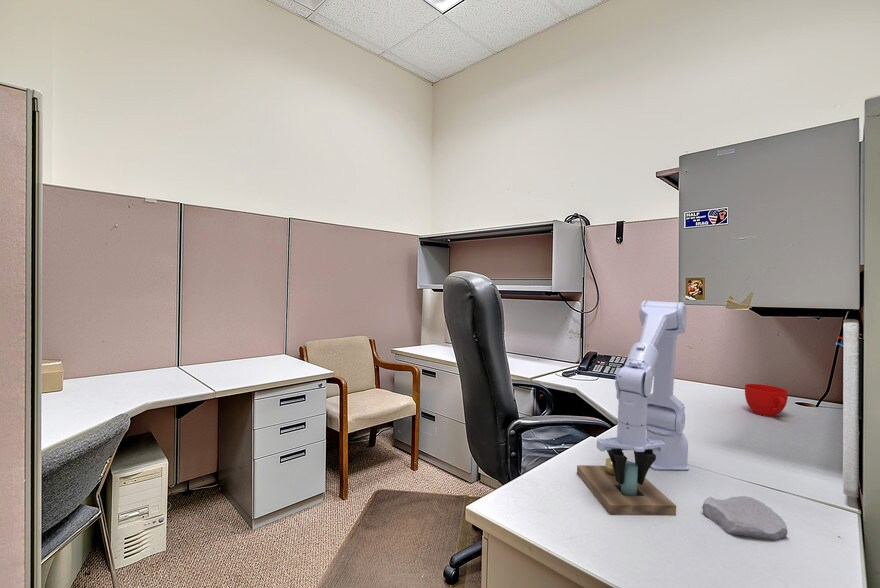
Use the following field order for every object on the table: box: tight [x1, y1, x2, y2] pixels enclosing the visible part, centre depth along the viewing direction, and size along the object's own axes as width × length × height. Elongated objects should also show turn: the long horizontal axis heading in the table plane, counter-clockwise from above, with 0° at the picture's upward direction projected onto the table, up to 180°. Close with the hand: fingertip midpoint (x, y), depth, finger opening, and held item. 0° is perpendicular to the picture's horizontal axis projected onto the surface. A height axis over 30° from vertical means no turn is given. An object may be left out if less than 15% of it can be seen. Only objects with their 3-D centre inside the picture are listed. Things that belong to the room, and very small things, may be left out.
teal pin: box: [621, 460, 638, 496], centre depth 89 cm, size 3×3×8 cm
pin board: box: [576, 457, 677, 516], centre depth 93 cm, size 14×18×5 cm
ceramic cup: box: [744, 383, 789, 418], centre depth 153 cm, size 13×17×10 cm
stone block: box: [701, 495, 789, 541], centre depth 81 cm, size 12×5×10 cm
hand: (629, 482), depth 90 cm, fingers open, 4 cm apart
